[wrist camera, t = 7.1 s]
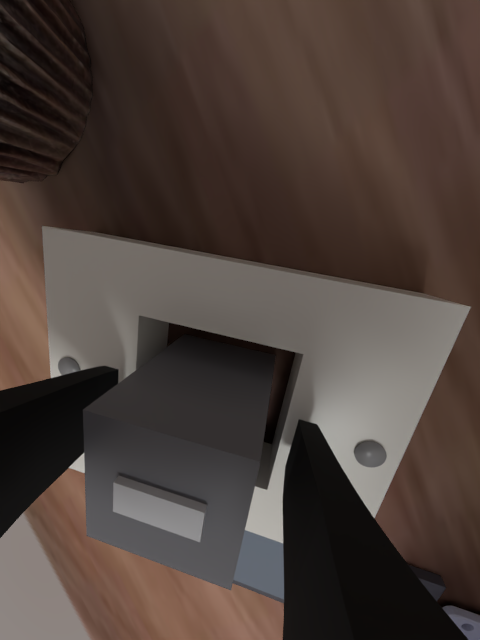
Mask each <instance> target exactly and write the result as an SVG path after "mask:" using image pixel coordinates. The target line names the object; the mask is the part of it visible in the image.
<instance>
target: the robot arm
mask: <svg viewBox="0 0 480 640" xmlns="http://www.w3.org/2000/svg"><path fill="white" fill-rule="evenodd" d="M118 373H119V369H115V368H112V367H108V366H99V367H93V368H89V369H85V370H81V371H77V372H73V373H69V374H65V375H61V376H58V377H54V378H50V379H46V380H42V381H38V382H35V383H31V384H26V385H22V386H18V387H14V388H10V389H5V390H1V391H0V538H1V537H2V535H3V534H4V533H5V532H6V531H7V530H8V529H9V528H10V527H11V525H12V524H13V523H14V522H15V521H16V519H18V518H19V516H20V515H21V514H22V513H23V512H24V511H25V510H26V509H27V508H28V507H29V506H30V505H31V504H32V503H33V502H34V501H35V500H36V499H37V498H38V497H39V496H40V495H41V494H42V493H43V492H44V491H45V490H46V489H47V488H48V487H49V486H50V485H51V484H52V483H53V482H54V481H55V480H56V479H57V478H58V477H59V476H60V475H62V474H63V473H64V472H65V471H66V470H67V469H68V468H69V467H70V466H71V465H72V464H73V463H74V462H75V461H76V460H77V459H78V458H79V457H80V456H81V455H82V454H83V453H84V429H83V409H85V408H86V407H87V406H89V405H90V404H91V403H93V402H94V401H95V400H97V399H98V398H99V397H101V396H102V395H103V394H105V393H106V392H107V391H109V390H110V389H111V388H113V387H114V386H115V385H117V384H118ZM283 556H284V626H283V640H480V615H478V614H475V613H472V612H469V611H467V610H464V609H461V608H458V607H455V606H451V605H450V606H444V607H443V608H442V607H441V606H440V605H439V604H438V602H437V601H436V600H435V599H434V597H433V596H432V595H431V594H430V592H429V591H428V590H427V589H426V587H425V586H424V585H423V584H422V582H421V581H420V580H419V579H418V577H417V576H416V575H415V573H414V572H413V571H412V569H411V568H410V567H409V565H408V564H407V563H406V561H405V560H404V559H403V557H402V556H401V555H400V553H399V552H398V551H397V549H396V548H395V547H394V545H393V544H392V543H391V542H390V540H389V539H388V537H387V536H386V535H385V533H384V532H383V530H382V529H381V528H380V526H379V525H378V523H377V522H376V520H375V519H374V517H373V516H372V514H371V513H370V511H369V510H368V508H367V507H366V506H365V504H364V503H363V501H362V499H361V498H360V496H359V495H358V493H357V492H356V490H355V488H354V487H353V485H352V484H351V482H350V480H349V479H348V477H347V475H346V474H345V472H344V470H343V469H342V467H341V465H340V464H339V462H338V460H337V459H336V457H335V455H334V453H333V451H332V450H331V448H330V446H329V444H328V443H327V441H326V439H325V437H324V435H323V433H322V432H321V430H320V428H319V426H318V425H317V424H315V423H311V422H307V421H304V420H300V419H299V420H298V424H297V427H296V431H295V434H294V438H293V441H292V445H291V448H290V452H289V455H288V459H287V462H286V466H285V475H284V487H283Z"/></svg>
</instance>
